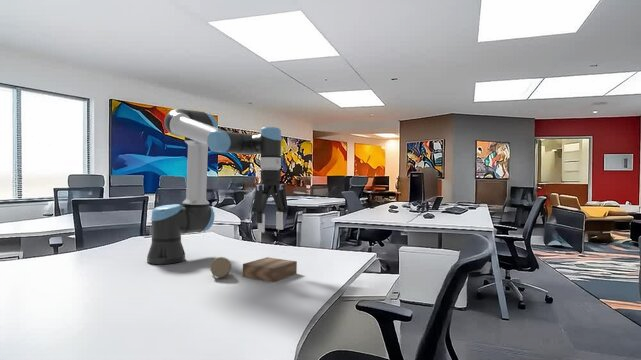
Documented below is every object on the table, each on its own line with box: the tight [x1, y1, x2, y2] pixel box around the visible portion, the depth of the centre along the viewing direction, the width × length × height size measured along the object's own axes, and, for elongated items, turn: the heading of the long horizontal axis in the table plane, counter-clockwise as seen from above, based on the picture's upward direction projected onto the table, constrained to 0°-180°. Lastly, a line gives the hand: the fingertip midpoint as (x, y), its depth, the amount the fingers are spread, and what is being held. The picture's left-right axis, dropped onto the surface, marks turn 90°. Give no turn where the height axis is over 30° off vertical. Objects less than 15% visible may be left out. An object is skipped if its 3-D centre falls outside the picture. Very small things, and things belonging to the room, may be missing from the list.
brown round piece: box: [209, 256, 232, 278], centre depth 141 cm, size 8×10×10 cm
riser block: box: [242, 256, 298, 283], centre depth 144 cm, size 14×14×5 cm
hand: (270, 230), depth 144 cm, fingers open, 9 cm apart
